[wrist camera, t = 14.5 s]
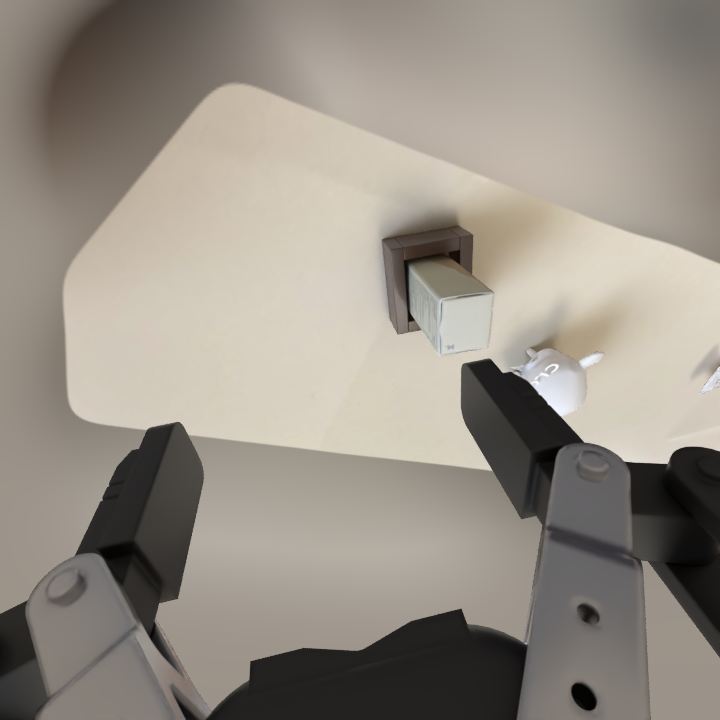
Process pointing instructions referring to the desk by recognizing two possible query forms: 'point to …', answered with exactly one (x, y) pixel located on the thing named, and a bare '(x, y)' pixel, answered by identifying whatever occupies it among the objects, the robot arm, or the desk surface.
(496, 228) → the desk surface
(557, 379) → the figurine
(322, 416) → the desk surface
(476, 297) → the box
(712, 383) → the toy fish
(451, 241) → the box
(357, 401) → the desk surface
